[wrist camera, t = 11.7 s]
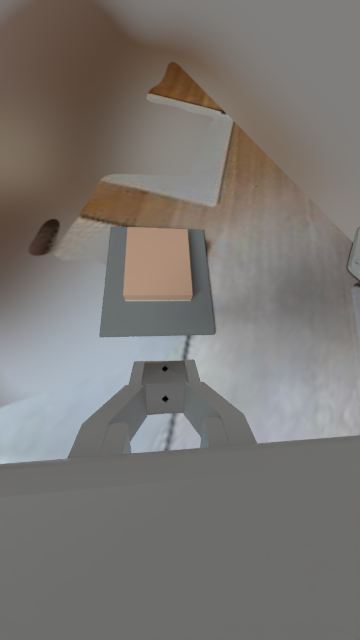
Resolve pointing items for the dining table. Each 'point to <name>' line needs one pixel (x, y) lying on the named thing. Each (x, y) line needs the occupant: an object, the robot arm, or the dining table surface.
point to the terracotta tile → (157, 265)
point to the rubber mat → (156, 315)
